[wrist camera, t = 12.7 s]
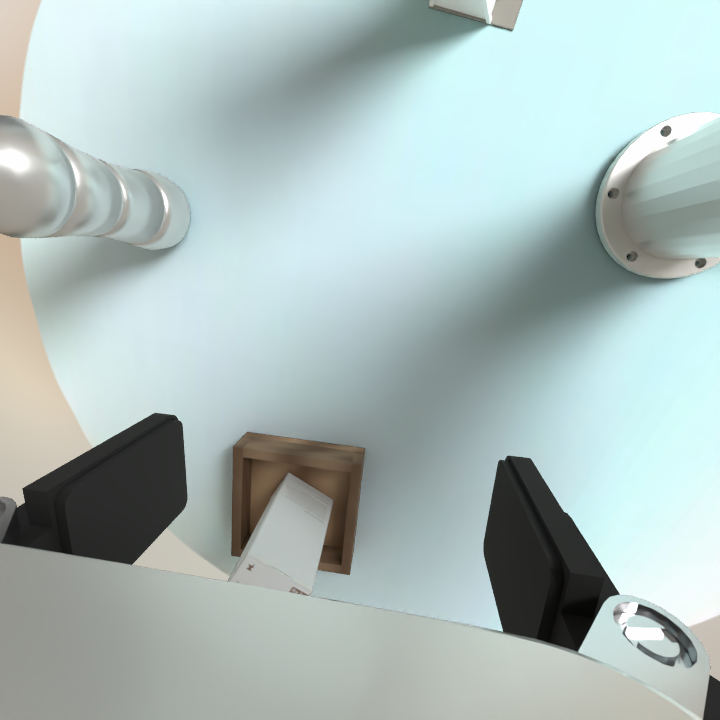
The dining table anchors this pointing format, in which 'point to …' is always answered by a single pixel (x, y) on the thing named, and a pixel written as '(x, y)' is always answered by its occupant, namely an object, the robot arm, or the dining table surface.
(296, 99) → the dining table surface
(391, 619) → the robot arm
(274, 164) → the dining table surface
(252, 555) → the skincare box
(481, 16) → the skyscraper
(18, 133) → the plastic bottle
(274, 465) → the walnut tray
